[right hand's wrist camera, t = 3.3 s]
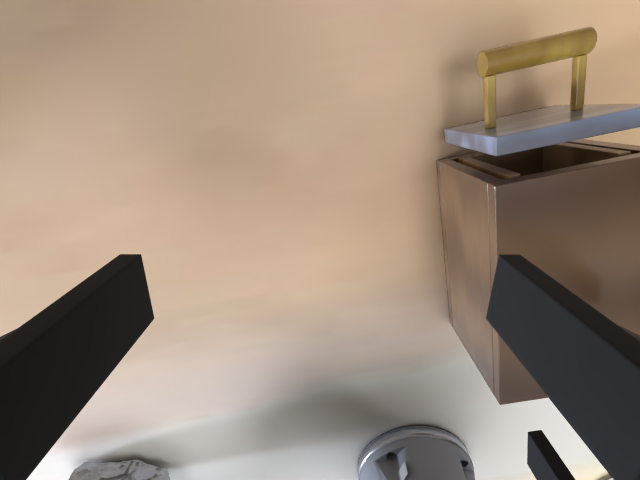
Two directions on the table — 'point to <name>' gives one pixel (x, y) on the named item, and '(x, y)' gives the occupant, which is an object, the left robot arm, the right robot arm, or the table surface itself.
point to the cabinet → (540, 248)
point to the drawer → (540, 114)
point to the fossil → (119, 471)
